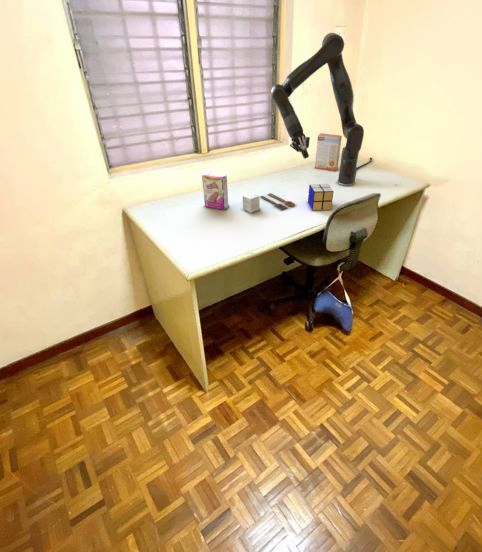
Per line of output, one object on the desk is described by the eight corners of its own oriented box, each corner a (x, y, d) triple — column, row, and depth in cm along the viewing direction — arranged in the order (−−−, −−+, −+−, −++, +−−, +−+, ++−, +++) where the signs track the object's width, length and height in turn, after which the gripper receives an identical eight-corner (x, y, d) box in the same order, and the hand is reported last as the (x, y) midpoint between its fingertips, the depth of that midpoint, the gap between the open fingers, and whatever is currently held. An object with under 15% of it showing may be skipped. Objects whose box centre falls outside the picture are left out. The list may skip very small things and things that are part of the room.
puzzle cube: (307, 202, 174) (309, 184, 168) (326, 201, 175) (328, 183, 169) (312, 210, 166) (313, 191, 160) (331, 210, 167) (334, 191, 161)
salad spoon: (272, 193, 182) (272, 192, 182) (296, 205, 170) (296, 204, 170) (266, 195, 180) (266, 194, 179) (290, 207, 168) (290, 206, 168)
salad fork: (264, 196, 179) (264, 195, 179) (287, 208, 167) (287, 207, 167) (258, 198, 177) (258, 197, 177) (281, 210, 165) (281, 209, 165)
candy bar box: (204, 207, 167) (201, 175, 157) (209, 203, 171) (206, 171, 161) (224, 210, 164) (222, 178, 154) (229, 206, 168) (227, 174, 158)
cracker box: (337, 168, 217) (342, 135, 205) (335, 171, 213) (339, 137, 200) (317, 165, 222) (320, 132, 209) (314, 168, 217) (317, 134, 205)
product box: (259, 209, 166) (259, 195, 161) (250, 213, 162) (250, 199, 158) (251, 205, 169) (251, 192, 165) (242, 209, 166) (242, 195, 161)
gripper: (287, 125, 162) (302, 158, 165) (306, 118, 168) (320, 151, 171) (279, 131, 168) (293, 164, 171) (297, 125, 174) (311, 157, 178)
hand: (306, 157), depth 171 cm, fingers closed
